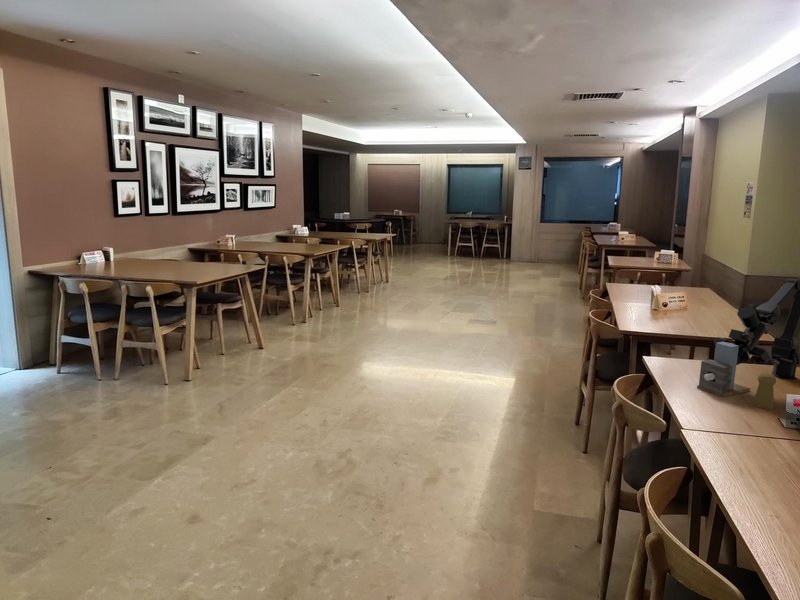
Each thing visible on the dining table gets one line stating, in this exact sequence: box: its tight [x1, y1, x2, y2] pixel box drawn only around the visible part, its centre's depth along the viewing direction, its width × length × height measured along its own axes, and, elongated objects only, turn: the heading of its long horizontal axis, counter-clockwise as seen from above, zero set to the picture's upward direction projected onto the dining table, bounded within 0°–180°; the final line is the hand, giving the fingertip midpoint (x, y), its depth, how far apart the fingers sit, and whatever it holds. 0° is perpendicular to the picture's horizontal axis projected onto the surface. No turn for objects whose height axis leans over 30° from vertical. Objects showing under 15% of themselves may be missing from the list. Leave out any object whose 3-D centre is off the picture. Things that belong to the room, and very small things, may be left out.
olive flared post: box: [752, 373, 777, 410], centre depth 194 cm, size 6×6×11 cm
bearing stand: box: [696, 359, 751, 398], centre depth 209 cm, size 16×10×11 cm, turn 116°
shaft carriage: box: [704, 342, 739, 389], centre depth 207 cm, size 11×6×16 cm, turn 116°
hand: (728, 367), depth 209 cm, fingers closed, pressing on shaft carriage
